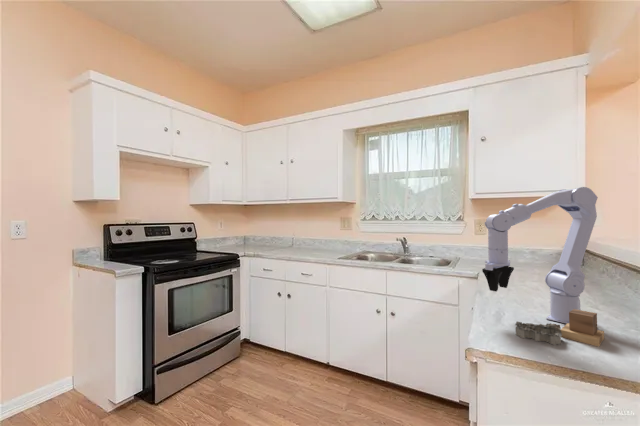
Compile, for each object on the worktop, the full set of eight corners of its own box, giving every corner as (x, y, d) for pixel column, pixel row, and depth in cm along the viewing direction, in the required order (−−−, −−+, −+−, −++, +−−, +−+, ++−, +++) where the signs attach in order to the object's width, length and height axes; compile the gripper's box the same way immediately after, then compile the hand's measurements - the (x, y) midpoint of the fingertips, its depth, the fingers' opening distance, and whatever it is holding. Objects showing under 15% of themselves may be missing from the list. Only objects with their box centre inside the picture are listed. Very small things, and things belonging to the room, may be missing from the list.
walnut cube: (574, 325, 86) (573, 309, 86) (597, 331, 82) (596, 313, 82) (569, 329, 83) (569, 312, 83) (593, 335, 79) (592, 316, 79)
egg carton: (562, 339, 82) (562, 324, 82) (561, 348, 76) (560, 332, 76) (517, 329, 89) (517, 315, 89) (513, 336, 84) (513, 322, 84)
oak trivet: (567, 331, 88) (567, 323, 88) (604, 340, 81) (604, 331, 81) (560, 338, 83) (560, 329, 83) (598, 348, 77) (598, 339, 77)
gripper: (494, 246, 106) (495, 283, 105) (475, 249, 97) (476, 289, 97) (516, 248, 100) (517, 287, 100) (498, 251, 91) (499, 294, 91)
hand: (498, 289), depth 98 cm, fingers open, 7 cm apart
